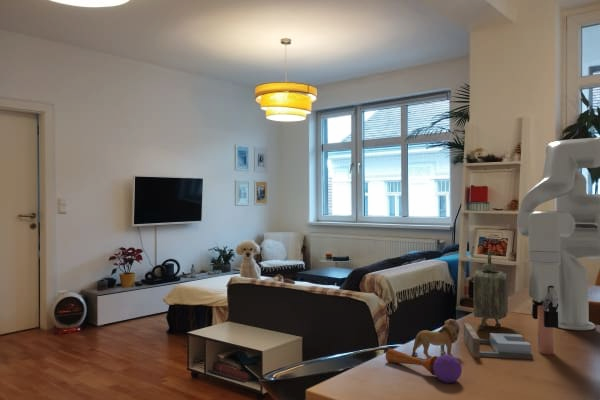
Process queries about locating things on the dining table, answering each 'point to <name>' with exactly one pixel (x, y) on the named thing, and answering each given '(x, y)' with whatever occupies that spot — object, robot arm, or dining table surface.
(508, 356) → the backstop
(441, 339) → the lion figurine
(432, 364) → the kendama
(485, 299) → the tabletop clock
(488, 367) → the dining table surface
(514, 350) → the block
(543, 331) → the dowel
